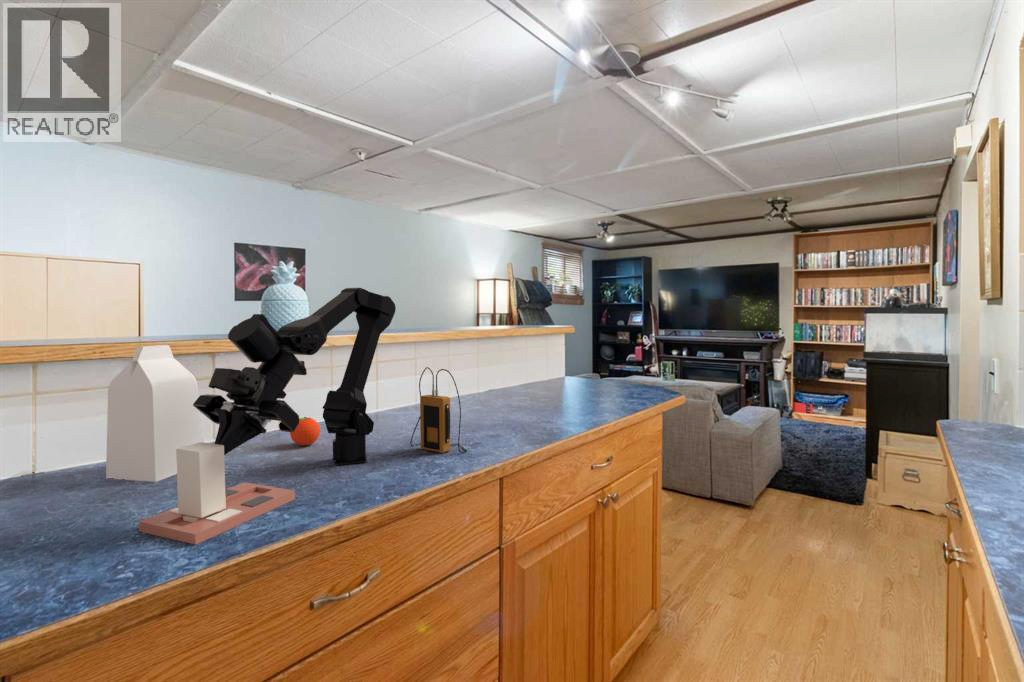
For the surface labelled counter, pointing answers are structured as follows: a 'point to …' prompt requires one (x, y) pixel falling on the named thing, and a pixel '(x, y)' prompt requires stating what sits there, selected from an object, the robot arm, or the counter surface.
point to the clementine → (306, 431)
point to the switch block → (219, 514)
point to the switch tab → (200, 480)
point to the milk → (150, 416)
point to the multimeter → (436, 420)
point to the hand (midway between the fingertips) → (214, 456)
